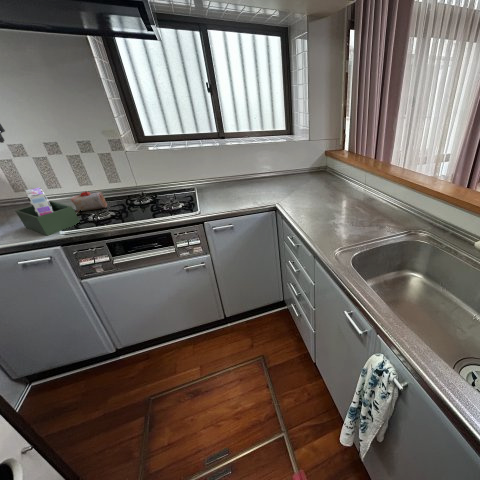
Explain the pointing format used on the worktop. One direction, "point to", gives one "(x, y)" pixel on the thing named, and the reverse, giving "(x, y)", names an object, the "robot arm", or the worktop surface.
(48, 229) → the bin
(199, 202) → the worktop surface
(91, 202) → the food item
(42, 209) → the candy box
